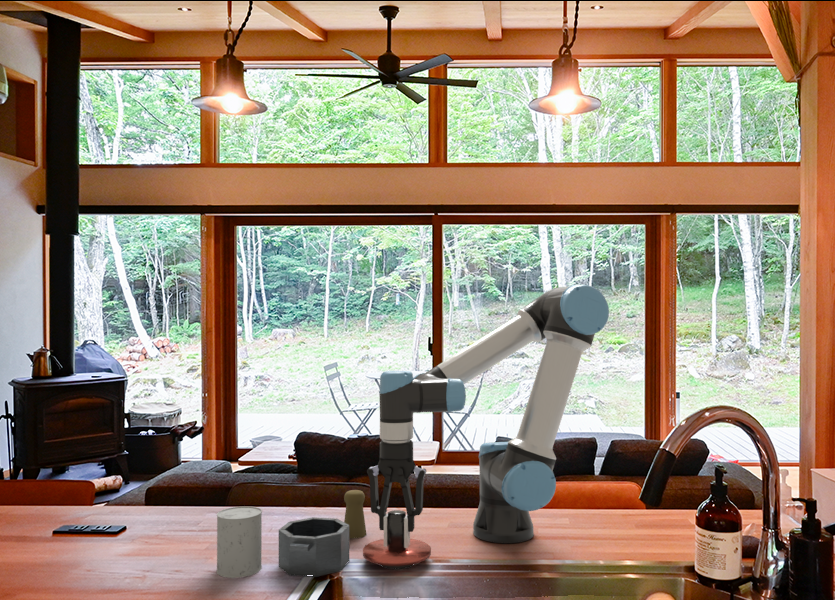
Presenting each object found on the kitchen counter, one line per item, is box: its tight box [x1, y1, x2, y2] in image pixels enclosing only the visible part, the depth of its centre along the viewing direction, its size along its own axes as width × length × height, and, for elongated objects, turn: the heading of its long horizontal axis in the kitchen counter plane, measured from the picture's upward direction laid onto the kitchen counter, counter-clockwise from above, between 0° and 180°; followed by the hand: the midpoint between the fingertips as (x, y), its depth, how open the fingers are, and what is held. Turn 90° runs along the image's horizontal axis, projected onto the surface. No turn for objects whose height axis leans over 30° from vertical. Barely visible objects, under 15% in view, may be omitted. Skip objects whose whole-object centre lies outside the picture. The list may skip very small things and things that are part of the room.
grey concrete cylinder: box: [216, 505, 263, 579], centre depth 143 cm, size 10×10×12 cm
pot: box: [278, 516, 350, 578], centre depth 146 cm, size 14×19×8 cm
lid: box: [362, 509, 432, 570], centre depth 146 cm, size 15×15×11 cm
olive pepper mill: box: [343, 489, 367, 539], centre depth 166 cm, size 6×6×11 cm
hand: (396, 545), depth 146 cm, fingers closed on lid, 4 cm apart
